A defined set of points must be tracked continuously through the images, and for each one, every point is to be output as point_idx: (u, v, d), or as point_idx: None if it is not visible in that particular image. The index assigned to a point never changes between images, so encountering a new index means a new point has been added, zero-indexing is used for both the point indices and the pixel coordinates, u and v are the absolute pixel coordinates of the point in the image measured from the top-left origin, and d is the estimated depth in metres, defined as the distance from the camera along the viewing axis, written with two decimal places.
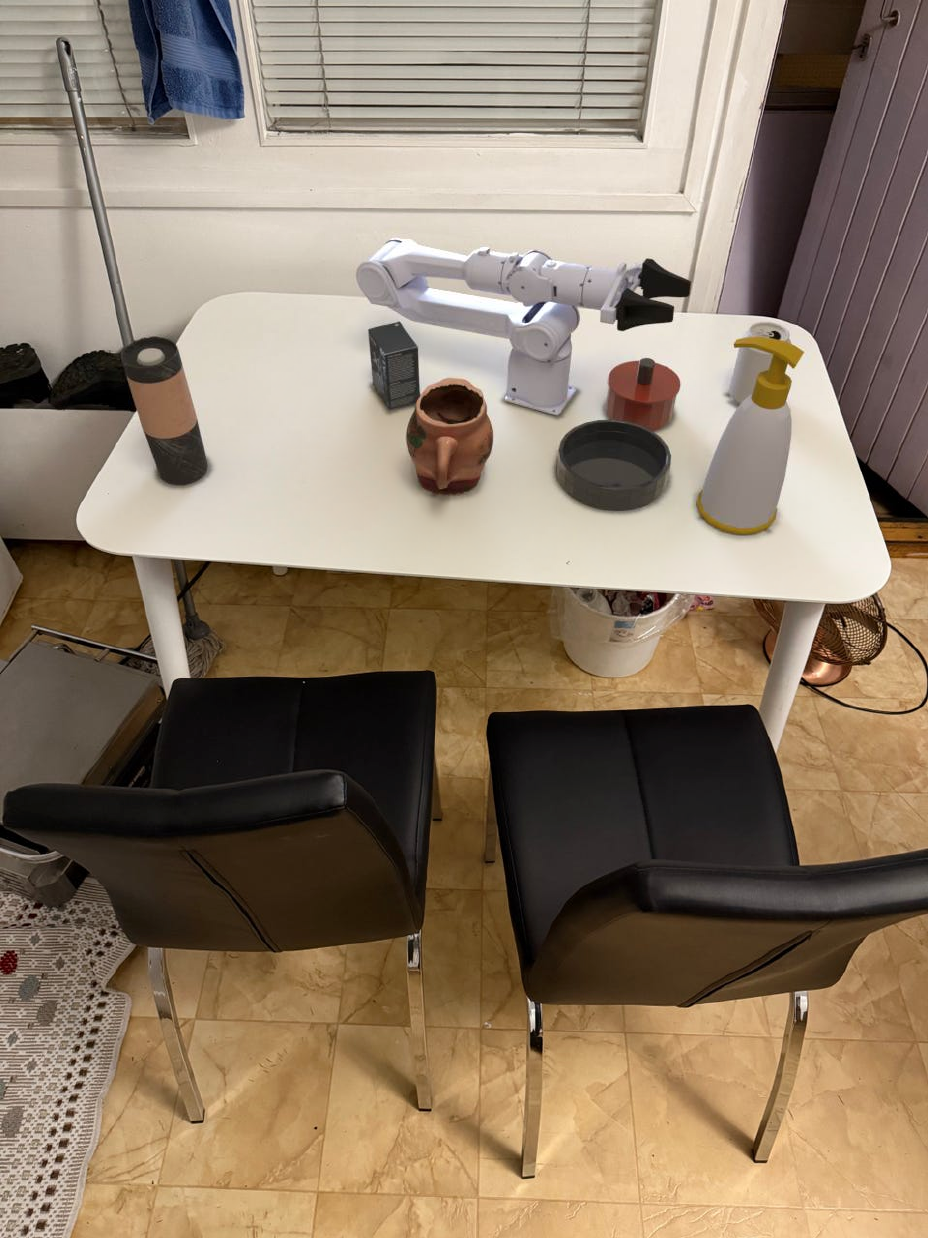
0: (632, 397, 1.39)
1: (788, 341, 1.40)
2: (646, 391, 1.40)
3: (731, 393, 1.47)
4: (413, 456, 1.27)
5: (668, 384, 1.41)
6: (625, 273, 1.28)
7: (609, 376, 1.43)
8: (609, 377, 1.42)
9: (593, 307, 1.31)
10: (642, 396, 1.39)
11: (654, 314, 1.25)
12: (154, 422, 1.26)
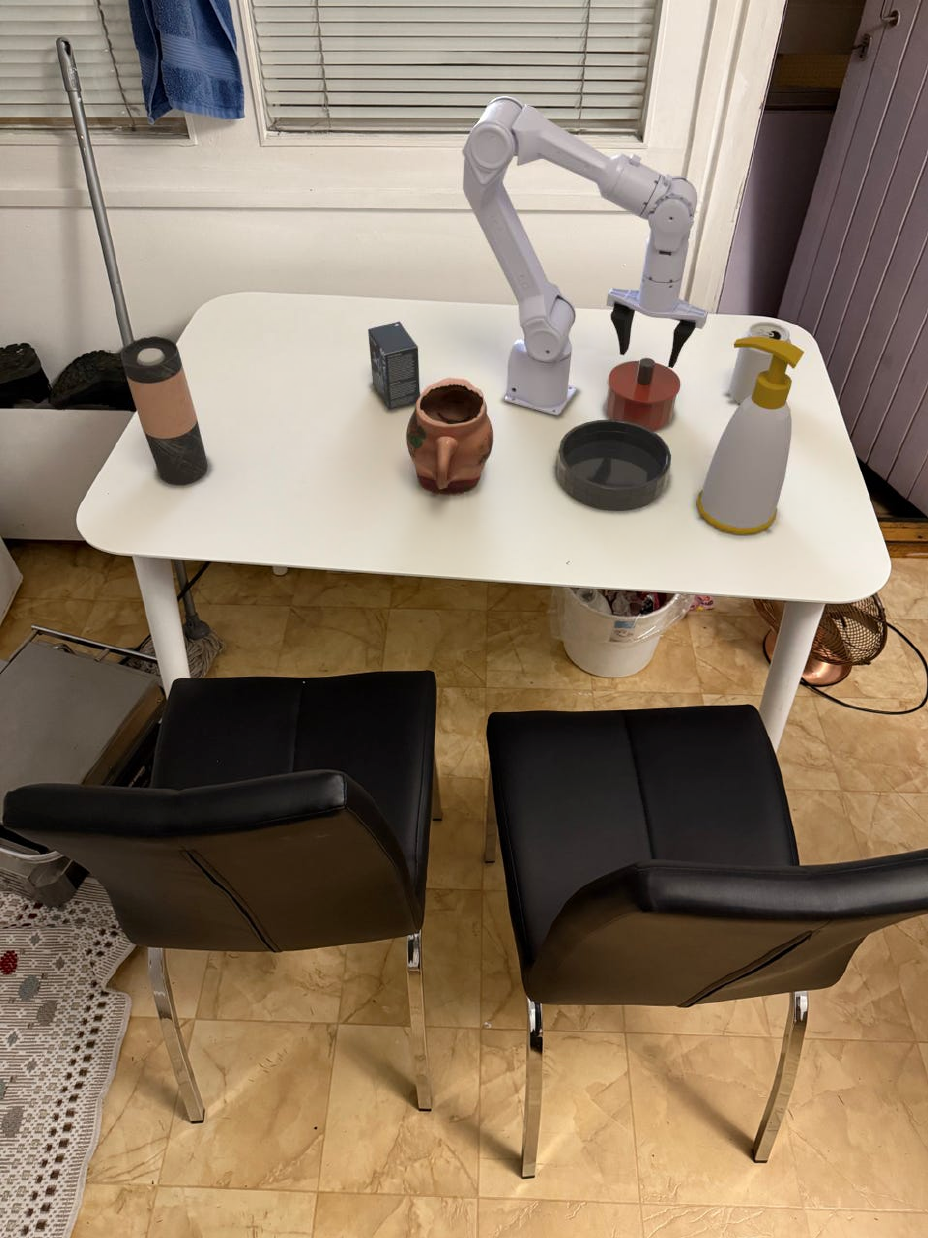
0: (632, 397, 1.39)
1: (788, 341, 1.40)
2: (646, 391, 1.40)
3: (731, 393, 1.47)
4: (413, 456, 1.27)
5: (668, 384, 1.41)
6: None
7: (609, 376, 1.43)
8: (609, 377, 1.42)
9: (671, 292, 1.28)
10: (642, 396, 1.39)
11: None
12: (153, 422, 1.26)
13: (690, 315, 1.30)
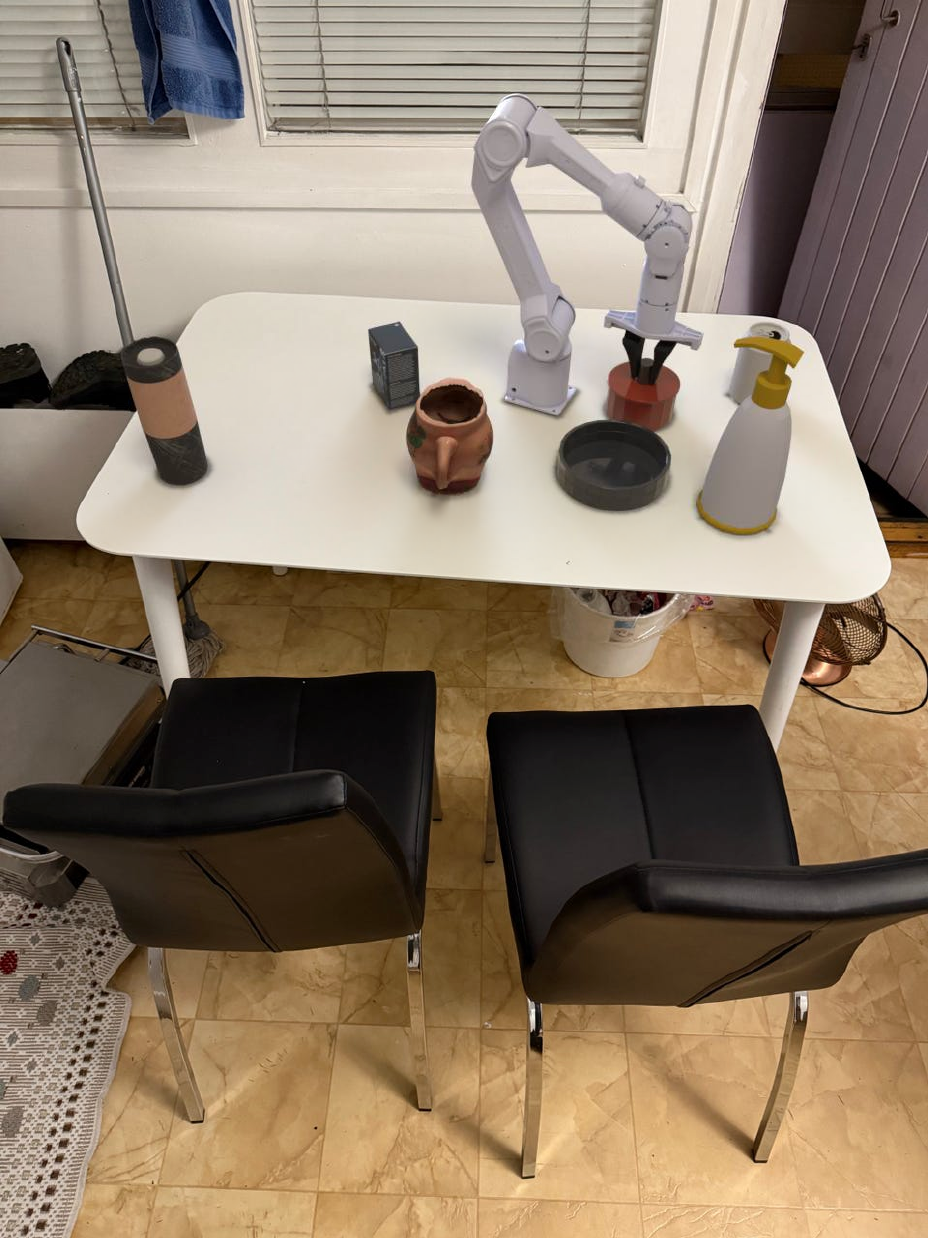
0: (632, 397, 1.39)
1: (788, 341, 1.40)
2: (646, 391, 1.40)
3: (731, 393, 1.47)
4: (413, 456, 1.27)
5: (668, 384, 1.41)
6: None
7: (609, 376, 1.43)
8: (609, 377, 1.42)
9: (667, 315, 1.31)
10: (642, 396, 1.39)
11: None
12: (153, 422, 1.26)
13: (686, 337, 1.32)
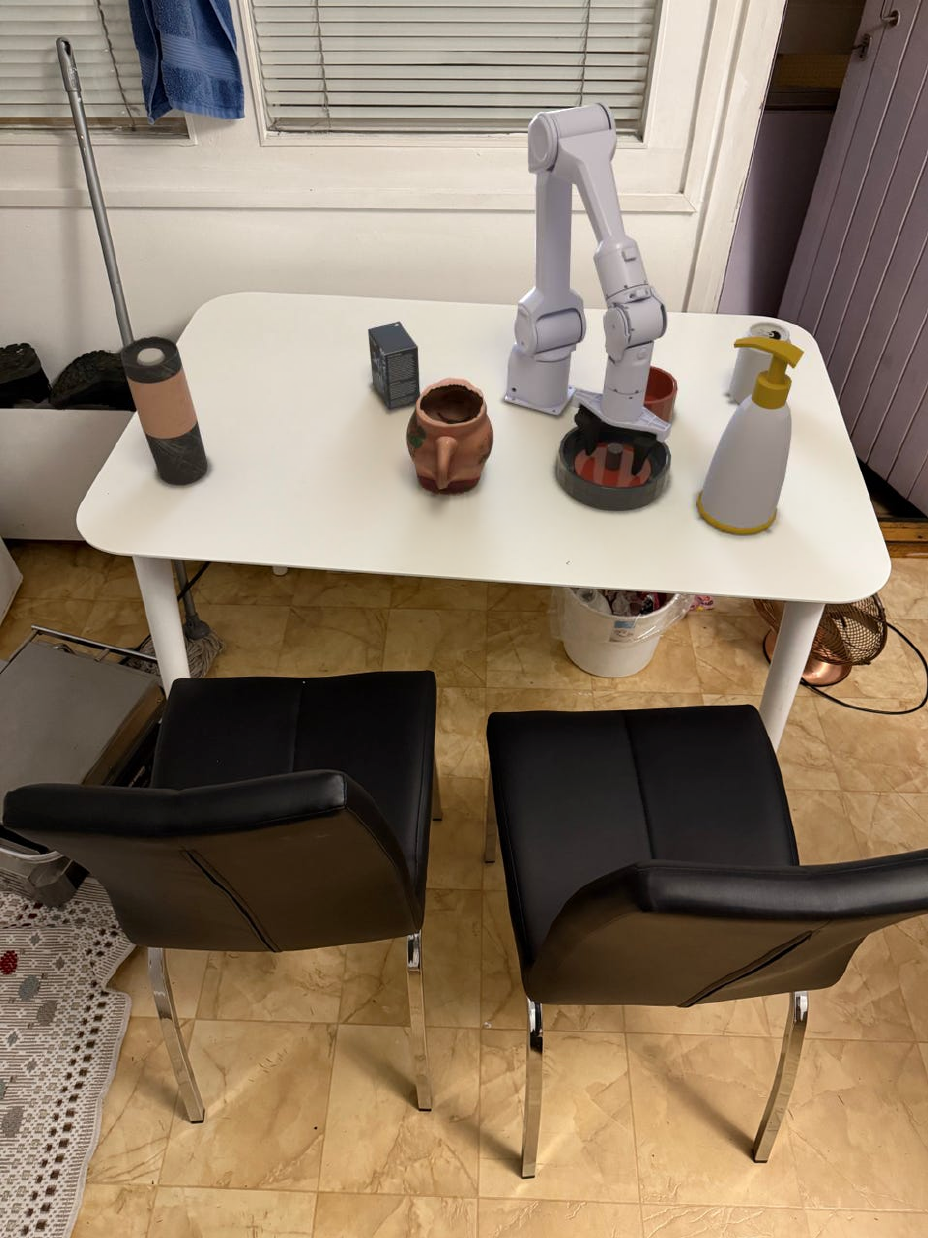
0: None
1: (788, 341, 1.40)
2: (611, 478, 1.33)
3: (731, 393, 1.47)
4: (413, 456, 1.27)
5: None
6: None
7: (577, 457, 1.36)
8: (577, 458, 1.36)
9: (632, 403, 1.23)
10: (605, 484, 1.32)
11: (641, 460, 1.31)
12: (153, 422, 1.26)
13: (651, 428, 1.25)
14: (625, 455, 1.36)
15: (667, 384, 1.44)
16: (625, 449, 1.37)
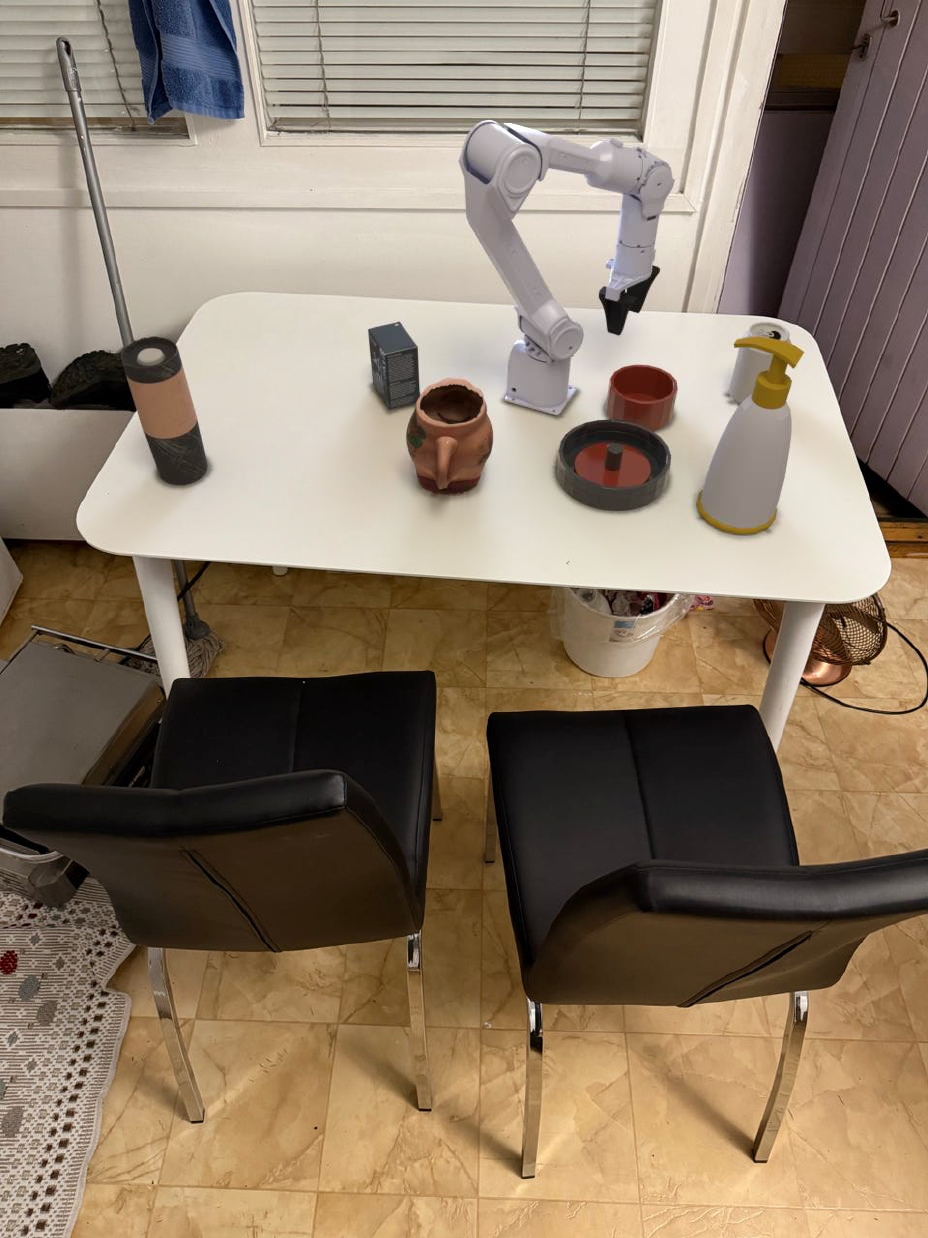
0: None
1: (788, 341, 1.40)
2: (611, 478, 1.33)
3: (731, 393, 1.47)
4: (413, 456, 1.27)
5: (637, 472, 1.34)
6: None
7: (577, 457, 1.36)
8: (577, 458, 1.36)
9: None
10: (605, 484, 1.32)
11: None
12: (153, 422, 1.26)
13: (653, 255, 1.42)
14: (625, 455, 1.36)
15: (667, 384, 1.44)
16: (625, 449, 1.37)
